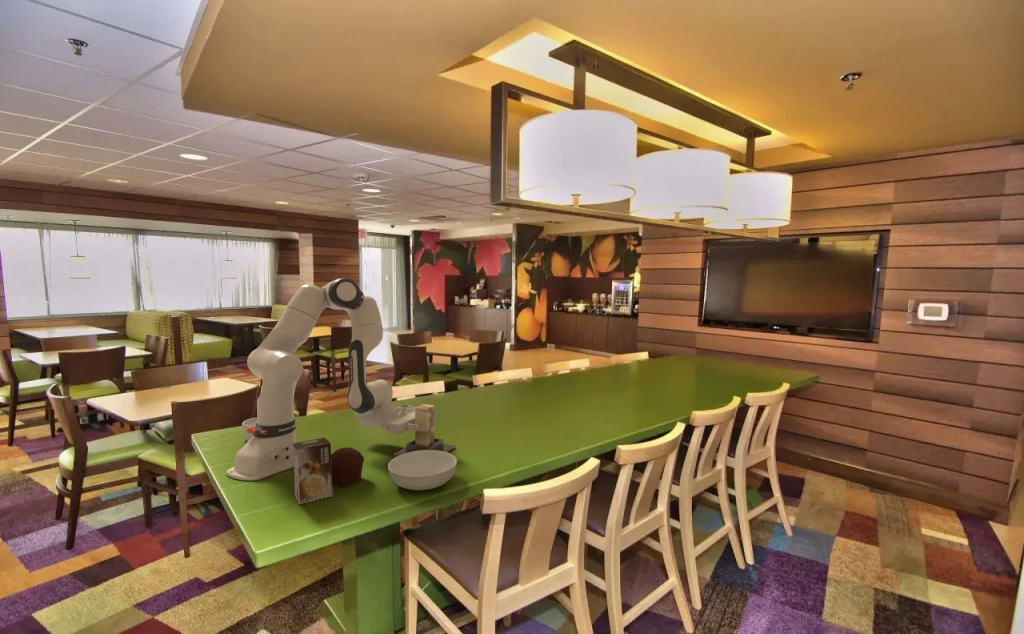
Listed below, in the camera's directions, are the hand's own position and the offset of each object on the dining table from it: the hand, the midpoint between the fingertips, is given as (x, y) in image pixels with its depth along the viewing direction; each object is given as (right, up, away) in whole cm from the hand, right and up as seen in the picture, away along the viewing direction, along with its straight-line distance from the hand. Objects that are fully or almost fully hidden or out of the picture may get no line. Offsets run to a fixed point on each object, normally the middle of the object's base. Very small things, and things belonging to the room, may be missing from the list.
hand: (427, 423), depth 167 cm
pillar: (-1, -10, +1) cm, 10 cm away
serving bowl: (+3, -13, -24) cm, 28 cm away
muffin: (-21, -13, -23) cm, 34 cm away
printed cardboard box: (-27, -14, -34) cm, 45 cm away
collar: (-1, -11, +1) cm, 11 cm away
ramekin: (-68, -9, +15) cm, 70 cm away
